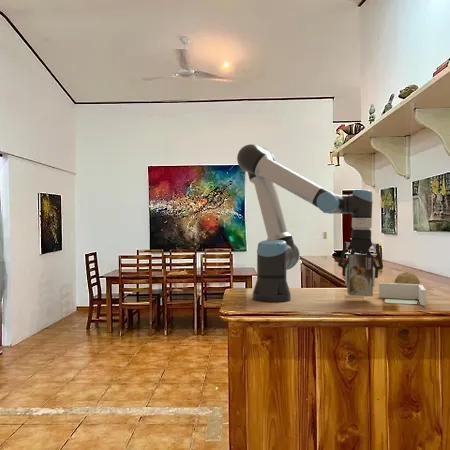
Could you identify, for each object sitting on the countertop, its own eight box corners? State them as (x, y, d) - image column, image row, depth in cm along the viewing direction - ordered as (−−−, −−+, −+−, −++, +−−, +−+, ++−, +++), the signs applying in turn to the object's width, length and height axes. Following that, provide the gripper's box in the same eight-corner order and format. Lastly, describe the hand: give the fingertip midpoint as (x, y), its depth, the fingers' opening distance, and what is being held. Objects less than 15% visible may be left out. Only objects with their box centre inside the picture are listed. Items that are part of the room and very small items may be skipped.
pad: (385, 303, 185) (385, 302, 185) (384, 299, 194) (384, 298, 194) (418, 304, 182) (418, 304, 182) (416, 301, 190) (416, 300, 190)
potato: (417, 294, 211) (417, 271, 211) (421, 298, 199) (422, 274, 198) (392, 293, 213) (392, 270, 213) (395, 297, 201) (395, 273, 201)
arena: (378, 303, 184) (378, 288, 184) (378, 297, 201) (379, 282, 201) (425, 306, 178) (425, 290, 178) (421, 299, 196) (421, 284, 196)
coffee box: (369, 294, 193) (371, 254, 193) (372, 296, 187) (374, 255, 187) (346, 293, 194) (347, 253, 194) (348, 295, 188) (349, 254, 188)
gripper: (331, 228, 190) (329, 284, 190) (391, 230, 183) (389, 288, 184) (333, 228, 197) (331, 282, 198) (391, 229, 191) (389, 286, 191)
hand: (359, 285), depth 191 cm, fingers closed on coffee box, 10 cm apart
